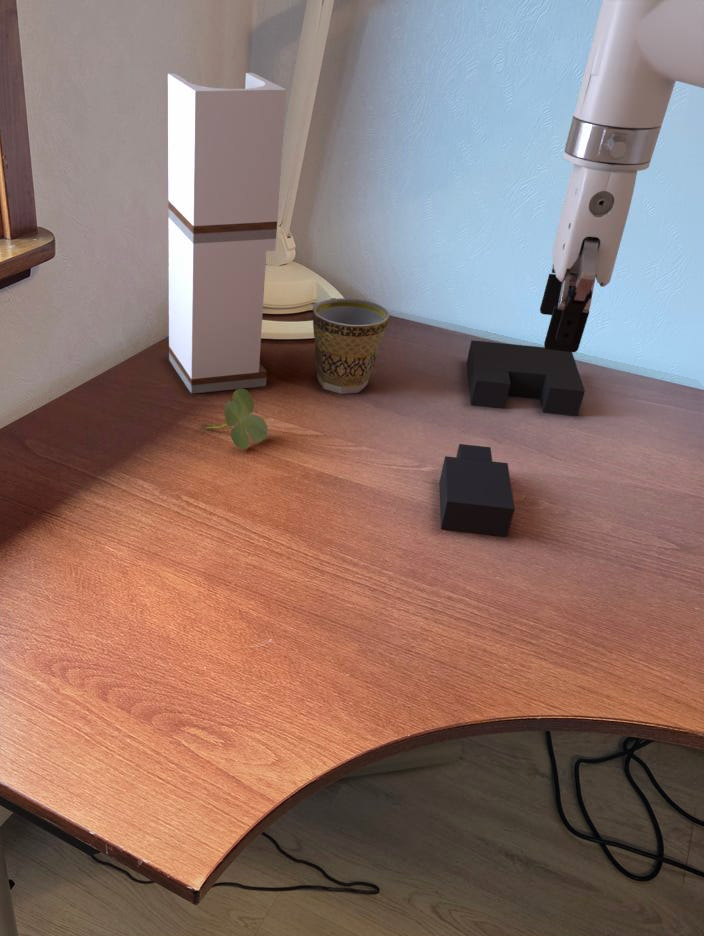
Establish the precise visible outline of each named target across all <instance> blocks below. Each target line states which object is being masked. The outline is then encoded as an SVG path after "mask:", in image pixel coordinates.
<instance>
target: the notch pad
mask: <svg viewBox="0 0 704 936" xmlns="http://www.w3.org/2000/svg"><path fill="white" fill-rule="evenodd" d="M465 363H466V373H467V383H468V392H469V393H468V394H469V402H470V406H477V407H479V406H480V407H488V408H489V407H490V408H497V409H505V407H506V404H507V401H508V397H517V398H527V399H537V400H540V401H539V402H540V406H541V410H542V413H543V414H544V413H545V414H555V415H563V416H564V415H565V416H574V417H575V416H576V417H577V416H578V415H579V412H580V408H581V405H582V402H583V399H584V396H585V393H586V389H585V387H584V383H583V381H582V378H581V375H580V372H579V369H578V365H577V363H576V360H575V356H574V353H573V352H566V351H557V350H549V349H546V348H545V347H544V346H534V345H527V344H526V345H523V344H515V343H506V342H505V343H504V342H492V341H483V340H470V344H469V351H468V355H467V358H466V362H465ZM578 417H579V416H578Z"/></svg>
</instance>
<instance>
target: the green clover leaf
mask: <svg viewBox="0 0 704 936" xmlns="http://www.w3.org/2000/svg"><path fill="white" fill-rule="evenodd" d="M250 393H251V392H249V390H247V389H246V388H241V389H235V391H234V392H233V393H232V395H231V396H232V397H231V399H232V400H227V401H226V403H225V405H224V410H223V411H224V414H223V415H224V420H225V424H223V425H220V426H208V427H206V428H205V430H207V431H208V430H210V429H212V430H213V429H223V428H225V427H227V426H228V427H229V428H231V427H232V428H231V430H230V438H231V440H232V442H233V444H234V445H235V446H236V447H238V448H240V449H241V450H247V449H248V448H249V447H250V439H251V440H252V441H253V442H254V443H256V444H260V443H262V441H263V440H265V439H266V437H267V434H268V431H269V430H268V429H269V428H268V424H267V422H266V421H265V420H264V419H263V418H262V417H260V416H259V415H255V414H252V413H253V411H254V409H255V403H254V399H253V397H252V395H251V394H250ZM249 438H250V439H249Z"/></svg>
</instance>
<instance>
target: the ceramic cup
mask: <svg viewBox="0 0 704 936" xmlns="http://www.w3.org/2000/svg"><path fill="white" fill-rule="evenodd" d="M389 319H390V313H389V311H388V310H387V309H386V308H385V307H383V306H381V305H379V304H378V303H375V302H373V301H368V300H365V299H358V298H347V297H345V298H344V297H341V298H335V297H332V298H330V299H326V300H323V301H320V302H318V303H316V304H315V305H314V306H313V308H312V327H313V337H314V338H313V339H314V349H315V361H316V362H315V363H316V375H317V377H316V378H317V381H318V383H319V384H320V385H321V387H322V388H323V389H324V390H327V391H329V392H332V393H333V392H334V393H336V394H341V395H342V394H343V395H345V394H346V395H347V394H358V393H360V392H361V391H362V390H363V389H365V388H366V387H367V385H368V383H369V380H370V379H371V378H370V377H371V374H372V371H373V368H374V365H375V362H376V359H377V356H378V353H379V350H380V347H381V344H382V341H383V339H384V336H385V333H386V330H387V326H388V323H389Z"/></svg>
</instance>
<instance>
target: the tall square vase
mask: <svg viewBox="0 0 704 936" xmlns="http://www.w3.org/2000/svg"><path fill="white" fill-rule="evenodd" d="M286 101H287V89H286V88H284V87H283V86H280V85H278V84H276V83H274V82H272V81H270V80H269V79H266V78H264V77H262V76H261V75H258V74H256V73H254V72H245V86H244V88H220V87H210V86H203V85H198V84H194V83H191V82H189V81H188V80H186V79H184V78H183V77H182V76H180V75H178V74H177V73H167V137H168V138H167V145H168V146H167V153H168V154H167V166H168V167H167V174H168V175H167V176H168V177H167V178H168V180H167V181H168V183H167V184H168V185H167V186H168V187H167V190H168V191H167V192H168V200H167V201H168V203H167V204H168V212H167V213H168V214H167V215H168V361H169V363H170V364H171V365H172V367H173V368H174V370H175V372H176V373H177V375H178V376H179V377H180V379H181V381H182V382H183V383H184V385H185V387H186V388H187V389H188V391H189V392H190V394H192V395H193V394H201V393H202V394H203V393H212V392H221V391H222V392H223V391H231V390H237V389H250V388H260V387H266V386H267V376H268V371H267V370H266V368H265V367H264V366H263V365H262V364H261V362H260V359H261V357H260V356H261V344H262V329H263V313H264V295H265V284H266V283H265V281H266V266H267V265H266V264H267V252H270V251H271V252H273V251H276V248H277V231H278V219H279V216H278V215H279V202H280V190H281V189H280V188H281V176H282V158H283V145H284V133H285V131H284V129H285V119H286V118H285V117H286Z"/></svg>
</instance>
